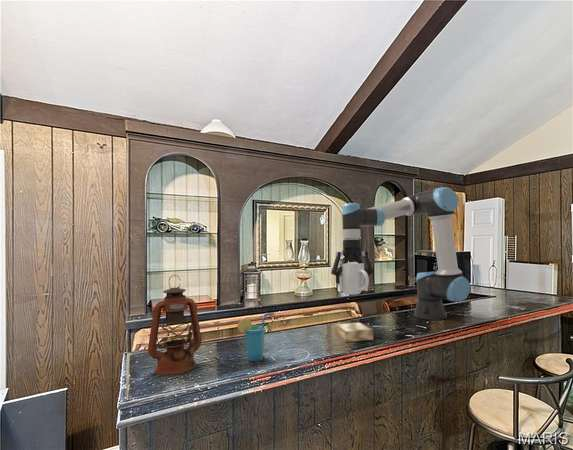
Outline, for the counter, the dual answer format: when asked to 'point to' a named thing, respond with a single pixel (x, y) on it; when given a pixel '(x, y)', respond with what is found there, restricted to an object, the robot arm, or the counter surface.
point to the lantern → (176, 355)
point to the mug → (353, 278)
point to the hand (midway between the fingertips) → (352, 291)
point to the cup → (253, 337)
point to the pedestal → (353, 332)
